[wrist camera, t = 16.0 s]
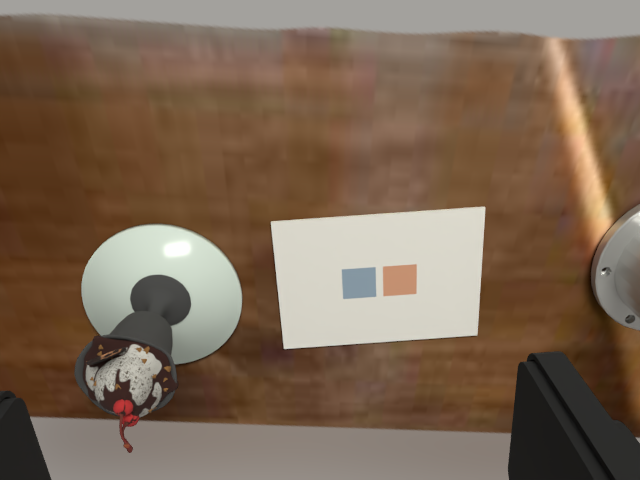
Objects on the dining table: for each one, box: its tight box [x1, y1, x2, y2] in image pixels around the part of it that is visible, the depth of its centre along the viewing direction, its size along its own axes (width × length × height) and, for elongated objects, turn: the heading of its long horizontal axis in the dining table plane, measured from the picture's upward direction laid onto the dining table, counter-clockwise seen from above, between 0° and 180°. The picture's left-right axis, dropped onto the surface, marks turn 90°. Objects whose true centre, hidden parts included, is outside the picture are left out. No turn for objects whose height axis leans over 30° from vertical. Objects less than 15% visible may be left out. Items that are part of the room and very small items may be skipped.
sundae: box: [75, 275, 191, 453], centre depth 40 cm, size 7×7×15 cm
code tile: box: [271, 207, 485, 349], centre depth 47 cm, size 17×12×1 cm
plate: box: [82, 224, 242, 364], centre depth 47 cm, size 13×13×1 cm
